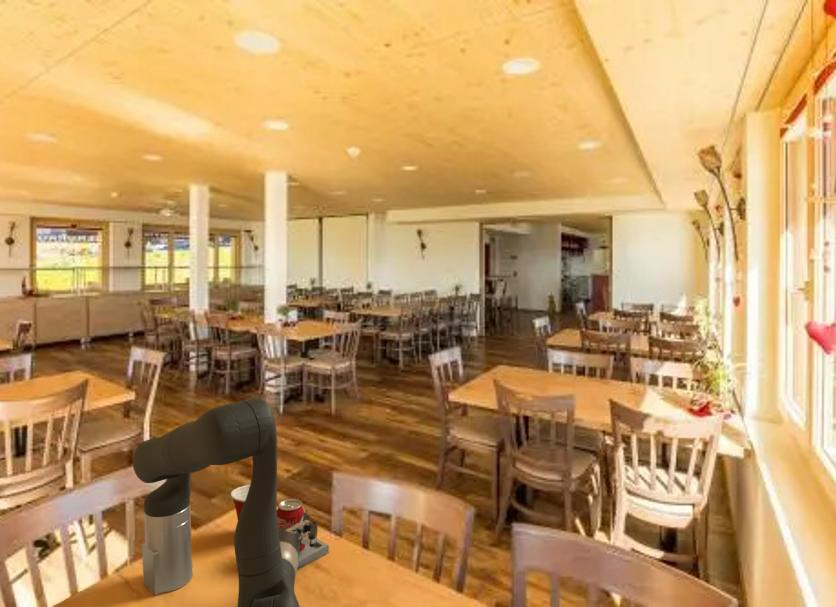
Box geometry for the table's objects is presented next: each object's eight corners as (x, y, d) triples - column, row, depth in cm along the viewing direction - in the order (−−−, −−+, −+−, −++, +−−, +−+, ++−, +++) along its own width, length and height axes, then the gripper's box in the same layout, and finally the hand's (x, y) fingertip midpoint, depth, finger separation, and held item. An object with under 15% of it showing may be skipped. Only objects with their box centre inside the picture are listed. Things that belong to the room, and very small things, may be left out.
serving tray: (284, 577, 118) (284, 569, 117) (252, 555, 126) (252, 547, 126) (328, 552, 127) (328, 545, 127) (296, 534, 136) (296, 526, 136)
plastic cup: (283, 531, 137) (282, 487, 136) (251, 550, 128) (249, 504, 127) (256, 519, 143) (255, 478, 142) (222, 537, 134) (221, 493, 133)
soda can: (297, 560, 122) (297, 512, 121) (271, 556, 124) (270, 509, 123) (309, 544, 129) (308, 499, 128) (284, 541, 130) (283, 496, 129)
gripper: (315, 539, 101) (318, 499, 116) (240, 545, 98) (252, 503, 114) (315, 575, 101) (317, 531, 117) (240, 581, 99) (253, 535, 115)
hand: (285, 517), depth 116 cm, fingers open, 8 cm apart
